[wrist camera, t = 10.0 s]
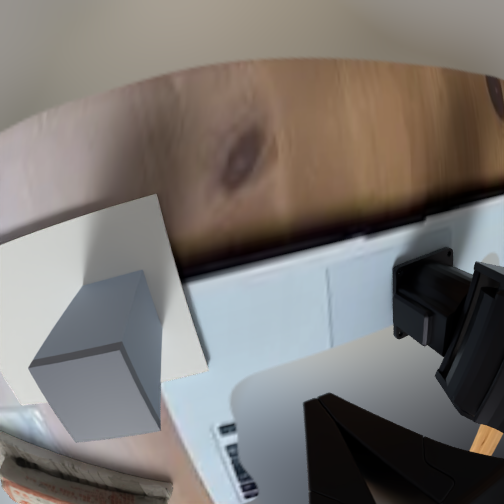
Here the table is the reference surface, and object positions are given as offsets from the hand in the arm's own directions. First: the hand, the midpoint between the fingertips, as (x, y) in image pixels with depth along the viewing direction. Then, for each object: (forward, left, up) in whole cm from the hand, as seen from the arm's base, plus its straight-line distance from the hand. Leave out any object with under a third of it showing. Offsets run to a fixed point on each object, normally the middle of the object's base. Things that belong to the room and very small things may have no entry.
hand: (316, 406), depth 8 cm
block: (+7, 0, -12) cm, 14 cm away
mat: (+11, 0, -12) cm, 17 cm away
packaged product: (+21, +18, -13) cm, 30 cm away
